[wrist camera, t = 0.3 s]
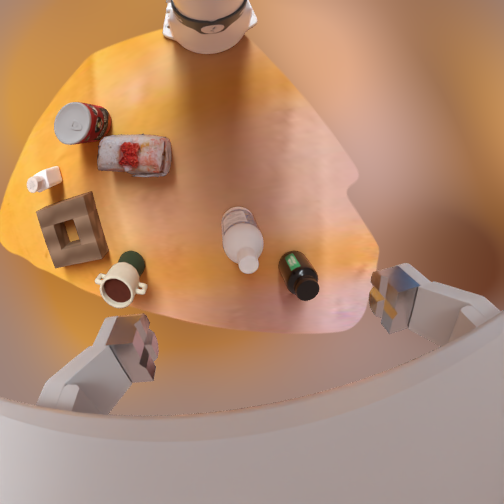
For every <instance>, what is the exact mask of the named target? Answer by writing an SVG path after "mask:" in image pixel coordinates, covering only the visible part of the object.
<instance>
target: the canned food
mask: <svg viewBox="0 0 504 504" xmlns="http://www.w3.org/2000/svg"><path fill="white" fill-rule="evenodd" d="M110 126H111V117H110V115H109V113H108V111H107V110H106V109H105V108H103V107H101V106H96V105H91V104H86V103H80V102H73V103H69V104H67V105H65V106H64V107H63V108H62V109H61V110H60V111H59V112H58V114H57V116H56V119H55V123H54V130H55V134H56V136H57V138H58V139H59V140H60V141H61V142H62V143H64V144H69V145H72V144H80V143H87V142H95V141H98V140H100V139H102V138H103V137H104V136H105V135H106V134H107V133H108V131H109V129H110Z"/></svg>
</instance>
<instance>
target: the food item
mask: <svg viewBox="0 0 504 504" xmlns="http://www.w3.org/2000/svg"><path fill="white" fill-rule="evenodd" d="M98 147H99V150H98V158H97V166H98V170H101V171H103V170H105V171H117V172H126V171H127V173H129V174H135V175H133V176H138V177H159V176H165V175H166V174H167V173H169V170H170V166H171V143H170V140H169V139H168V138H166V137H162V136H156V135H144V134H142V135H141V134H139V135H122V134H121V135H111V136H106V137H104V138H103V139H102V140H101V141H100V143H99V146H98Z"/></svg>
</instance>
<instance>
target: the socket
mask: <svg viewBox="0 0 504 504" xmlns="http://www.w3.org/2000/svg"><path fill="white" fill-rule="evenodd" d="M36 213H37V217H38V220H39V223H40V226H41V230H42V233H43V236H44V239H45V242H46V245H47V247H48V250H49V253H50V256H51V258H52V261H53V263H54V266H55V268H59V267H64V266H69V265H74V264H79V263H83V262H88V261H93V260H98V259H102V258H103V257H104V256H105V254H106V253H107V252H108V251H109V249H108V246H107V243H106V240H105V237H104V233H103V230H102V227H101V223H100V220H99V216H98V213H97V209H96V205H95V201H94V197H93V193H92V191H91V192H88V193H84V194H81V195H78V196H75V197H72V198H69V199H66V200H63V201H60V202H57V203H54V204H51V205H48V206H46V207H44V208H42V209H40V210H39V211H37V212H36ZM71 219H73V220H74V223H75V226H76V230H77V233H78V236H79V239H80V240H76V241H72V242H70V241H69V238H68V235H67V232H66V228H65V225H64V221H68V220H71Z"/></svg>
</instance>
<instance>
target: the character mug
mask: <svg viewBox="0 0 504 504" xmlns="http://www.w3.org/2000/svg"><path fill="white" fill-rule="evenodd" d="M144 268H145V264H144V260H143V258H142V256H141V255H139V254H138V253H137V252H134V251H127V252H125V253H123V254H122V255H121V257H120V259H119V261H118V263H117V264H114V265H113V266H112V267H111V268H110V270H109V271H108V273H107V274H101V273H100V274H99V275H98V276H97V278H96V279H95V283H96V284H99V285H100V292H101V295H102V297H103V299H104V300H105V301H106V302H107V303H108V304H109V305H111V306H113V307H115V308H124V307H127V306H129V305H130V304H131V302H132V301H133V299H134V296H135V294H141V295H144V294H145V293H146V290H147V288H148V286H147V284H145V283H140V280H139V277H140V276H141V274H142V273H143V271H144ZM101 279H103V280H101ZM138 287H141V288H142V289H138Z"/></svg>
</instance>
